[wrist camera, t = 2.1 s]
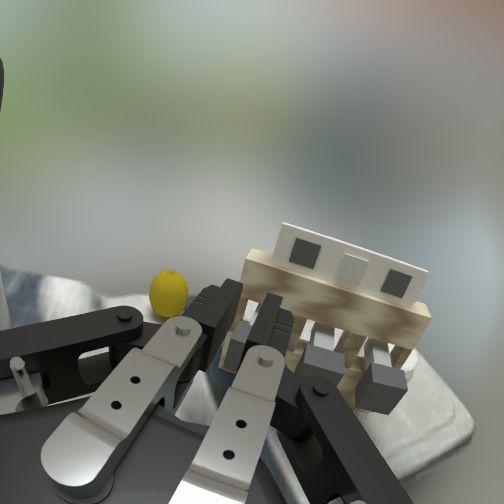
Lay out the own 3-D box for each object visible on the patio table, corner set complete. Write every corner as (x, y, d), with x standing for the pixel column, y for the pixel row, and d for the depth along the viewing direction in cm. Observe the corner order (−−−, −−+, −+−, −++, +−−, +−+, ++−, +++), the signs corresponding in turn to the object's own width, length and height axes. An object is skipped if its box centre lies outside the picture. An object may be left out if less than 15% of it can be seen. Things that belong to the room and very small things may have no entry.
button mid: (290, 390, 29) (303, 362, 27) (302, 333, 38) (312, 307, 36) (328, 400, 28) (344, 374, 26) (332, 342, 37) (344, 317, 35)
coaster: (352, 371, 43) (362, 354, 42) (361, 337, 52) (369, 322, 51) (408, 393, 40) (419, 377, 39) (409, 357, 49) (418, 342, 47)
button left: (222, 367, 30) (230, 338, 28) (248, 315, 39) (255, 288, 37) (261, 381, 29) (272, 352, 27) (279, 326, 38) (288, 299, 36)
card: (270, 264, 32) (281, 224, 30) (271, 261, 33) (282, 221, 31) (411, 309, 30) (429, 273, 28) (410, 306, 31) (427, 270, 29)
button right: (354, 407, 28) (372, 381, 26) (354, 349, 37) (367, 324, 35) (388, 415, 27) (407, 390, 25) (381, 356, 36) (395, 332, 35)
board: (218, 367, 38) (245, 258, 32) (231, 341, 44) (258, 239, 37) (369, 412, 36) (431, 318, 29) (367, 383, 41) (419, 292, 35)
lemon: (183, 330, 43) (190, 283, 40) (145, 324, 42) (148, 277, 39) (185, 307, 48) (192, 263, 45) (150, 302, 47) (154, 257, 44)
